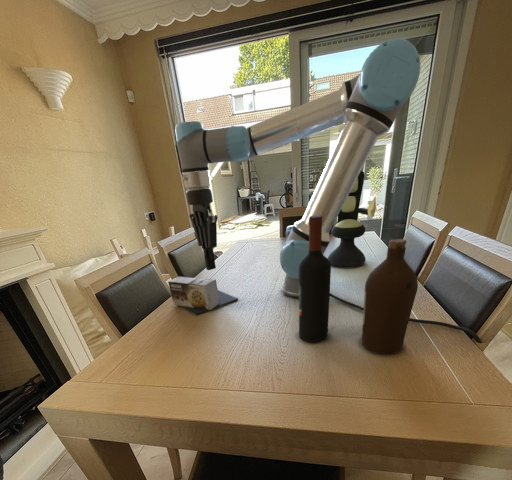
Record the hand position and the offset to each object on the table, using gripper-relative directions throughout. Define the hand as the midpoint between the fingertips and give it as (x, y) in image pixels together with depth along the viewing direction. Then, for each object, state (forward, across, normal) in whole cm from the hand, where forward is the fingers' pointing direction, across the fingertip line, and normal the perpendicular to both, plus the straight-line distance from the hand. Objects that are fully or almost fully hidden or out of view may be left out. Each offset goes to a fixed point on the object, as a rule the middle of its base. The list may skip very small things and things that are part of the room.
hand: (211, 268), depth 96 cm
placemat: (+13, -5, -1) cm, 14 cm away
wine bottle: (+13, +39, +6) cm, 42 cm away
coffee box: (+8, +2, -2) cm, 9 cm away
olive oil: (+13, +54, +14) cm, 57 cm away
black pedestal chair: (+13, +5, +67) cm, 69 cm away
